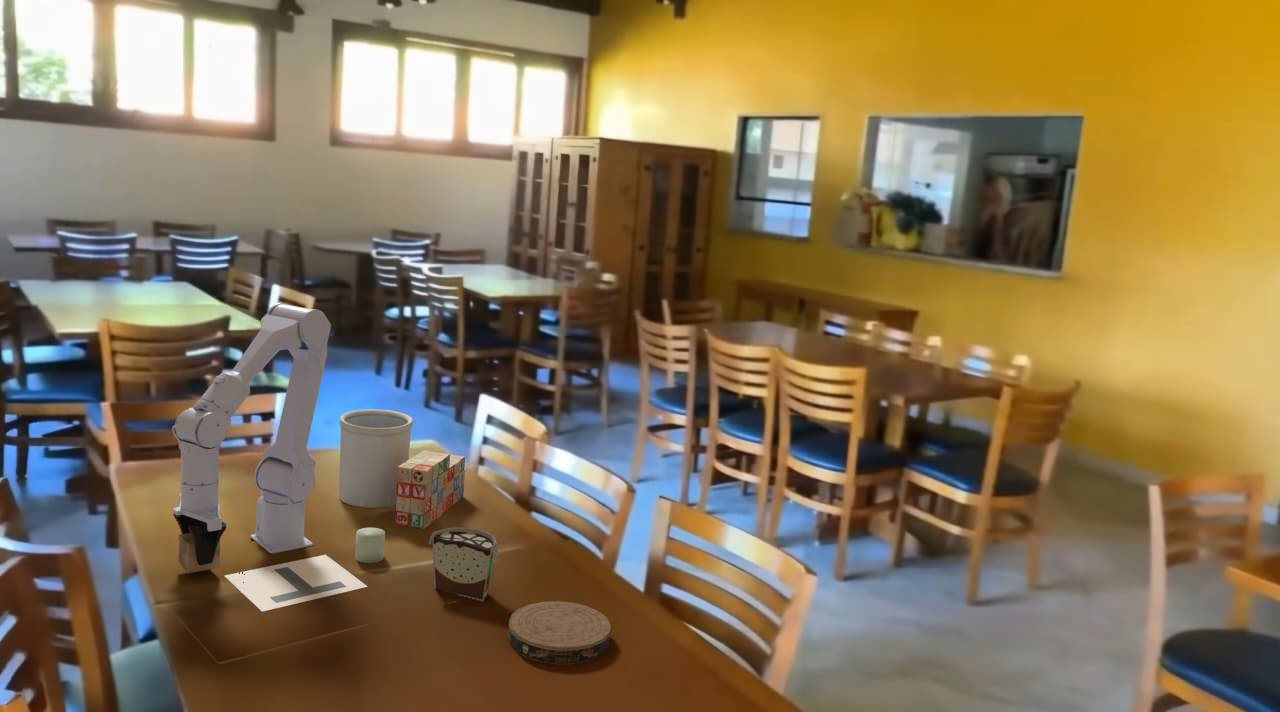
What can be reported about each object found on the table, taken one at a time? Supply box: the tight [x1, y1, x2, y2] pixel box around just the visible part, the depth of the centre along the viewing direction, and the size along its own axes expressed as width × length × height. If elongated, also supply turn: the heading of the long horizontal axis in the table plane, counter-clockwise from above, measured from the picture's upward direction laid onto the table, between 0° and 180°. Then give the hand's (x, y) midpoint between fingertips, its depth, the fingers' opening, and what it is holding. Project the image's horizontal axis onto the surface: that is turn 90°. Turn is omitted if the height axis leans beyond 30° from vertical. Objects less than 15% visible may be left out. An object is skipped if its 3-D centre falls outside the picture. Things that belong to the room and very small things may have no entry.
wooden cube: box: [178, 533, 221, 574], centre depth 166 cm, size 5×5×5 cm
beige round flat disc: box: [507, 600, 612, 665], centre depth 155 cm, size 16×16×3 cm
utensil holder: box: [338, 408, 414, 509], centre depth 209 cm, size 15×15×18 cm
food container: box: [428, 527, 499, 602], centre depth 170 cm, size 12×6×10 cm, turn 71°
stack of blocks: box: [394, 450, 466, 530], centre depth 206 cm, size 21×6×12 cm, turn 169°
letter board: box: [224, 554, 368, 613], centre depth 167 cm, size 16×18×1 cm
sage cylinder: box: [354, 527, 386, 564], centre depth 179 cm, size 5×5×5 cm
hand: (199, 557), depth 167 cm, fingers closed on wooden cube, 5 cm apart
